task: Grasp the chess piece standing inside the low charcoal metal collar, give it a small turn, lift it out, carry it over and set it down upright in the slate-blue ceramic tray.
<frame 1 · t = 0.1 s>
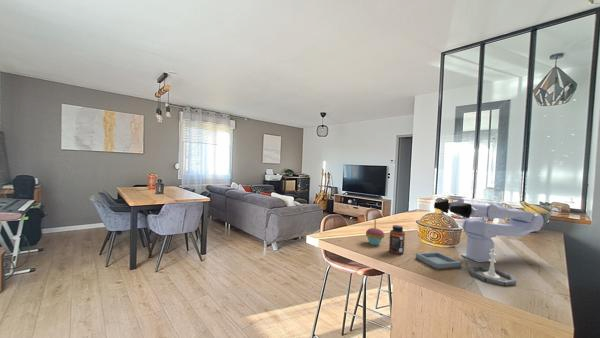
hand: (442, 207, 97), 22 cm above the table, tool horizontal, fingers open, 7 cm apart
chess piece: (491, 277, 85), resting in collar
tray: (437, 262, 96), on the table
cupcake: (374, 244, 117), on the table
supplement bottle: (396, 252, 106), on the table
collar: (491, 276, 85), on the table
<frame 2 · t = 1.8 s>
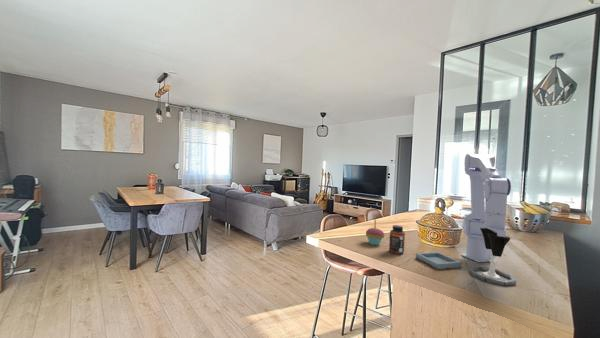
hand: (492, 252, 85), 9 cm above the table, tool pointing down, fingers open, 7 cm apart
nothing on the table moved.
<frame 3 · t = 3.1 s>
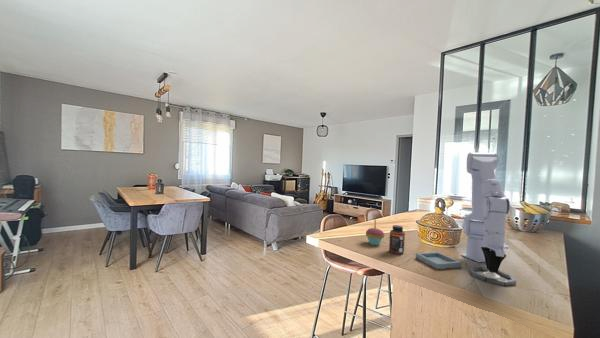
hand: (491, 270, 85), 2 cm above the table, tool pointing down, fingers closed on chess piece
chess piece: (491, 277, 85), resting in collar, touching gripper
everything else where it was.
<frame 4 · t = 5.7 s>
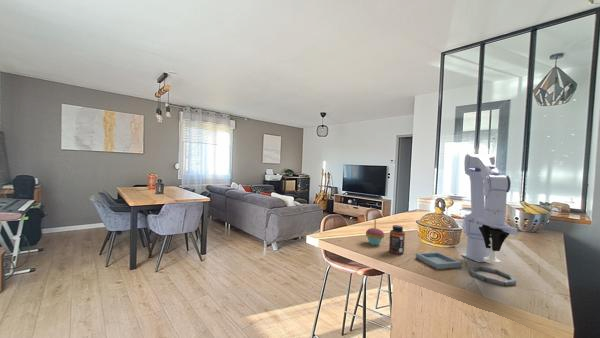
hand: (492, 249, 85), 10 cm above the table, tool pointing down, fingers closed on chess piece, 2 cm apart
chess piece: (491, 262, 85), point 5 cm above the table, touching gripper
everything else where it was.
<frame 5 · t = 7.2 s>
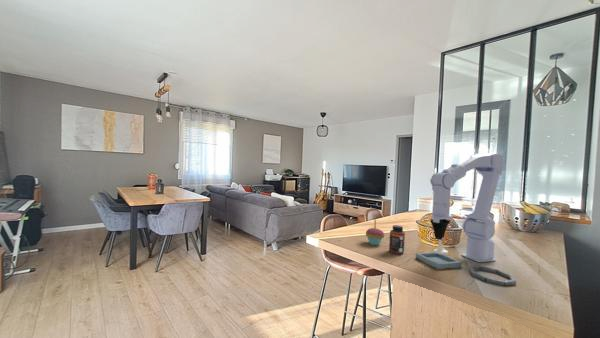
hand: (439, 238, 96), 10 cm above the table, tool pointing down, fingers closed on chess piece, 2 cm apart
chess piece: (440, 253, 96), point 4 cm above the table, touching gripper
everything else where it was.
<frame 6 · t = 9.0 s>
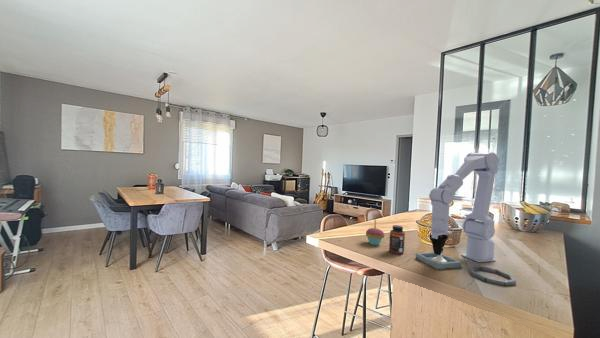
hand: (438, 253, 96), 4 cm above the table, tool pointing down, fingers closed on chess piece, 2 cm apart
chess piece: (439, 262, 96), resting on tray, touching gripper
everything else where it was.
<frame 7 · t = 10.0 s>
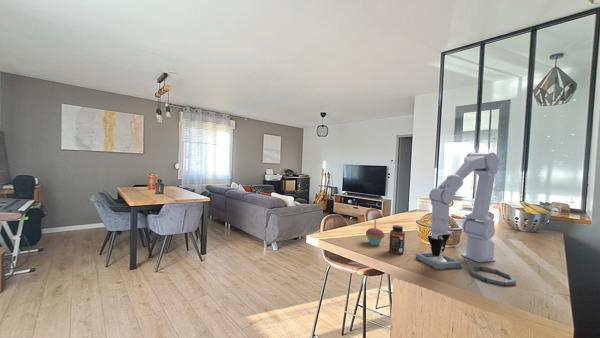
hand: (438, 253, 96), 4 cm above the table, tool pointing down, fingers open, 7 cm apart
chess piece: (439, 262, 96), resting on tray
everything else where it was.
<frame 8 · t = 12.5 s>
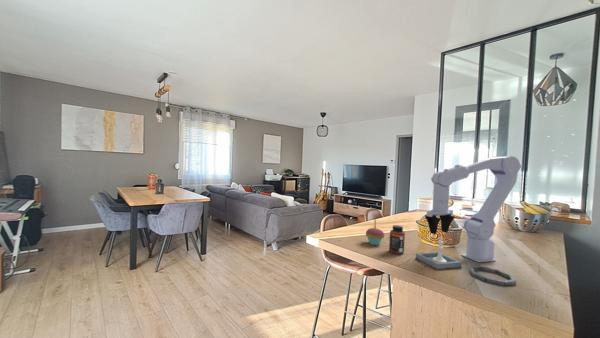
hand: (438, 232, 103), 10 cm above the table, tool pointing down, fingers open, 7 cm apart
nothing on the table moved.
at the end: chess piece inside the target area on the tray (0.7 cm from its centre), point 0.4 cm above the tray's base; chess piece tilted 0°; the gripper is holding nothing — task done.
